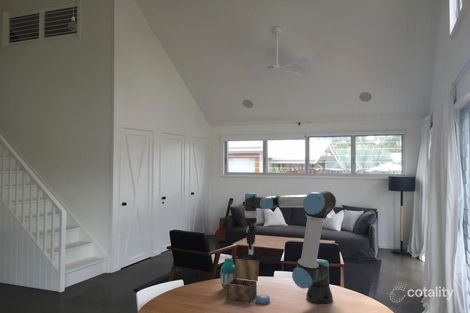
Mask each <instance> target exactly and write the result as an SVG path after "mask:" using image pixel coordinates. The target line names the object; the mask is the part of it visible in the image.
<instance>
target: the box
mask: <svg viewBox="0 0 470 313" xmlns="http://www.w3.org/2000/svg"><path fill="white" fill-rule="evenodd" d="M257 282H258V281H252V280H244V279H233V280H231V281H230V282H228V283H226V289H225V290H226V291H225V294H226V295H225V296H226V297H225V298H226V300H232V301H238V302H243V303H251V302H252V301H254V299H256V296H257V295H258V292H257V290H258V289H257V287H258V286H257V285H258V284H257Z"/></svg>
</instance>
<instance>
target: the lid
mask: <svg viewBox="0 0 470 313" xmlns="http://www.w3.org/2000/svg"><path fill="white" fill-rule="evenodd" d="M234 265H235V269H234V278H236V279H242V280H249V281H257V282H258V280H259V268H260V261H259V260H252V259H251V258H245V257H243V259H242V258H235V261H234Z"/></svg>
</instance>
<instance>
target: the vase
mask: <svg viewBox="0 0 470 313" xmlns="http://www.w3.org/2000/svg"><path fill="white" fill-rule="evenodd" d="M223 262H224V263H223V264H222V265H221V267H220V285H221V287H222V289H224V290H226V283H228V282H230V281H231V280H233V279H236V278H234V269H235V263H234V260H233V258H231V257H229V258H224V260H223Z"/></svg>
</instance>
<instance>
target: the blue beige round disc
mask: <svg viewBox="0 0 470 313" xmlns="http://www.w3.org/2000/svg"><path fill="white" fill-rule="evenodd" d="M270 299H271V297H270V296H269V295H268V294H257V296H256V298H255V303H256V304H259V305H267V304H270V303H271V300H270Z"/></svg>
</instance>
